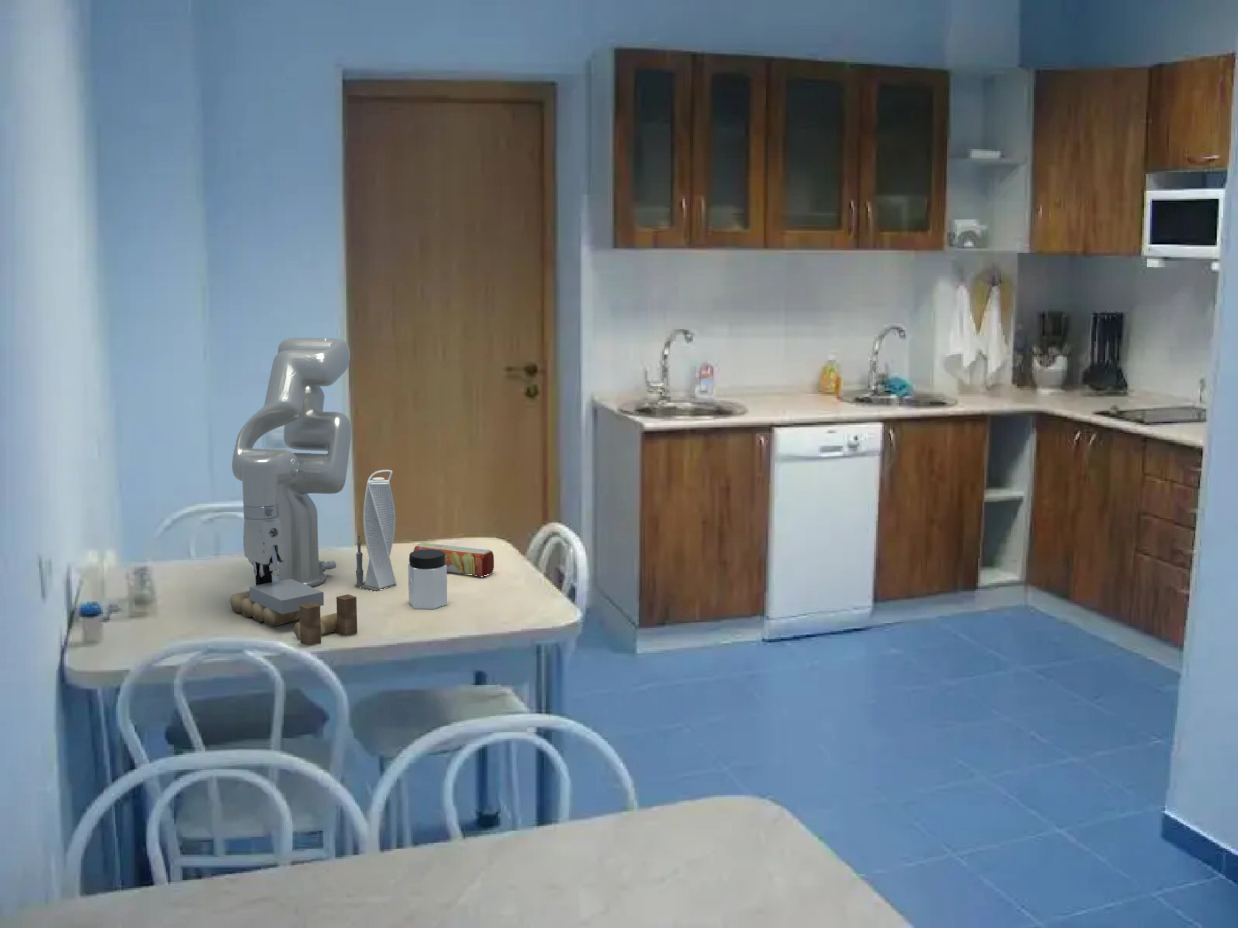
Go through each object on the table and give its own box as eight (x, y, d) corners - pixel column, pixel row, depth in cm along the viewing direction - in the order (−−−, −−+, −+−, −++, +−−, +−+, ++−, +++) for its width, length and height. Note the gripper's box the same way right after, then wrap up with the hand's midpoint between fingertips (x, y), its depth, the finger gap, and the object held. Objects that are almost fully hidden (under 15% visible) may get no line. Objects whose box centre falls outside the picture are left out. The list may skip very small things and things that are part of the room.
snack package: (410, 569, 321) (410, 543, 320) (425, 563, 327) (425, 537, 326) (482, 580, 312) (482, 553, 311) (496, 574, 318) (496, 548, 317)
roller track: (270, 601, 290) (269, 584, 290) (313, 618, 278) (313, 600, 278) (230, 610, 283) (230, 592, 282) (273, 628, 271) (273, 609, 271)
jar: (405, 600, 293) (404, 550, 291) (439, 597, 296) (438, 547, 294) (415, 611, 285) (415, 560, 283) (450, 607, 288) (450, 556, 286)
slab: (290, 591, 284) (290, 578, 284) (323, 605, 274) (323, 591, 274) (249, 599, 277) (249, 586, 277) (282, 614, 268) (281, 600, 267)
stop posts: (349, 630, 271) (348, 594, 270) (357, 633, 269) (356, 597, 268) (300, 642, 263) (299, 605, 261) (308, 645, 261) (307, 608, 259)
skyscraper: (380, 579, 311) (378, 467, 305) (403, 584, 306) (402, 471, 301) (354, 586, 304) (351, 472, 299) (378, 592, 299) (376, 476, 294)
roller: (336, 609, 272) (346, 619, 270) (333, 623, 274) (342, 633, 271) (296, 618, 265) (305, 629, 263) (292, 633, 266) (302, 643, 264)
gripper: (294, 514, 276) (297, 595, 280) (258, 503, 286) (261, 582, 290) (264, 520, 271) (267, 602, 274) (228, 508, 281) (231, 588, 284)
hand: (264, 591), depth 282 cm, fingers closed
